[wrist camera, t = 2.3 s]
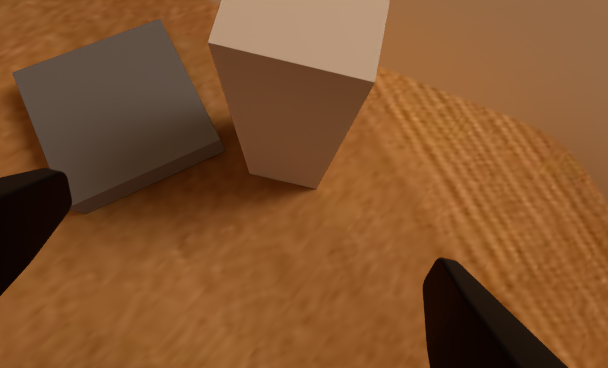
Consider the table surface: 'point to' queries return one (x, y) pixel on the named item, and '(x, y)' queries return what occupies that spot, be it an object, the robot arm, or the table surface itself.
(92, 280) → the table surface
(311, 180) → the tall white pillar block
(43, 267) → the table surface
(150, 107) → the plate
